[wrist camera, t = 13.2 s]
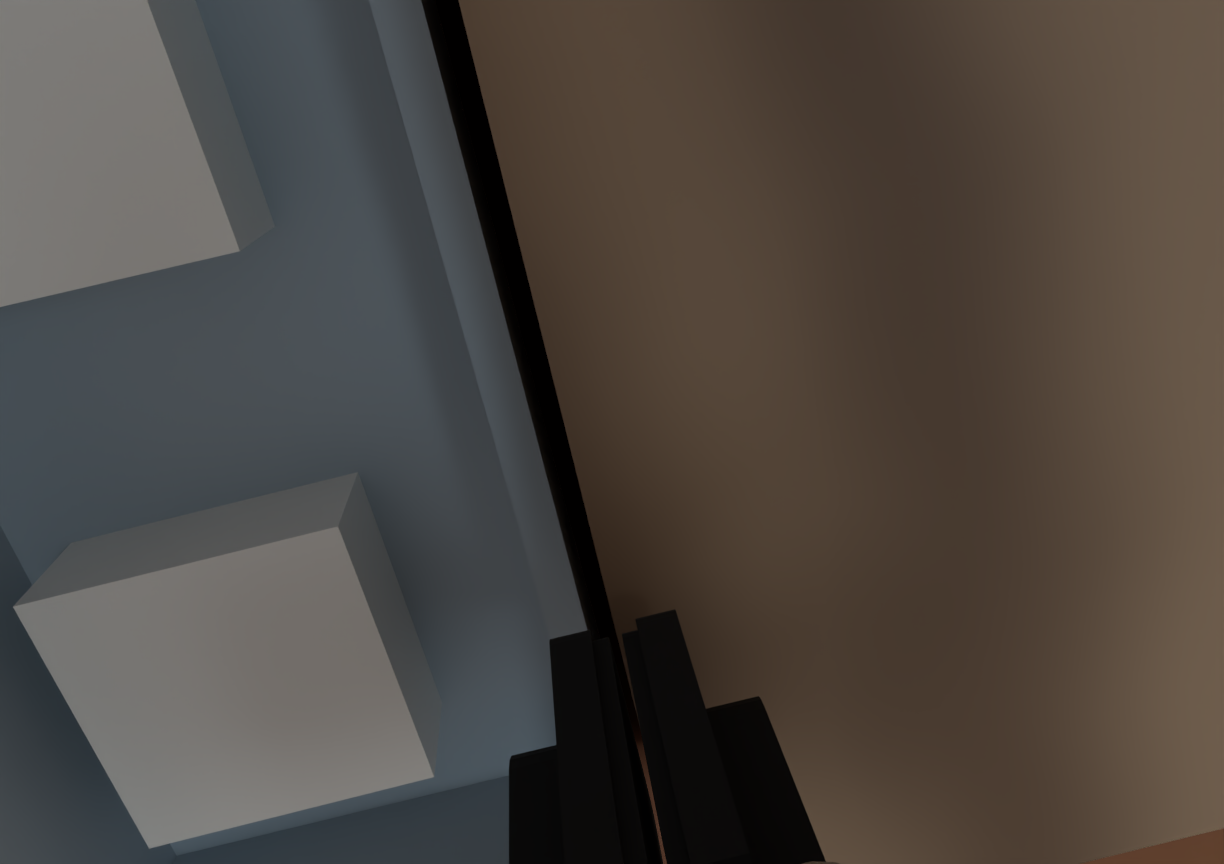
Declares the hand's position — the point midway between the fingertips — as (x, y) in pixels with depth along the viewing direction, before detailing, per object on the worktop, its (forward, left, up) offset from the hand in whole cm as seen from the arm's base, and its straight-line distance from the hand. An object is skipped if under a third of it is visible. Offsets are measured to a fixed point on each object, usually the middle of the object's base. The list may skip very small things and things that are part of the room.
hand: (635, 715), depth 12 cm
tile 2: (+6, 0, -3) cm, 7 cm away
